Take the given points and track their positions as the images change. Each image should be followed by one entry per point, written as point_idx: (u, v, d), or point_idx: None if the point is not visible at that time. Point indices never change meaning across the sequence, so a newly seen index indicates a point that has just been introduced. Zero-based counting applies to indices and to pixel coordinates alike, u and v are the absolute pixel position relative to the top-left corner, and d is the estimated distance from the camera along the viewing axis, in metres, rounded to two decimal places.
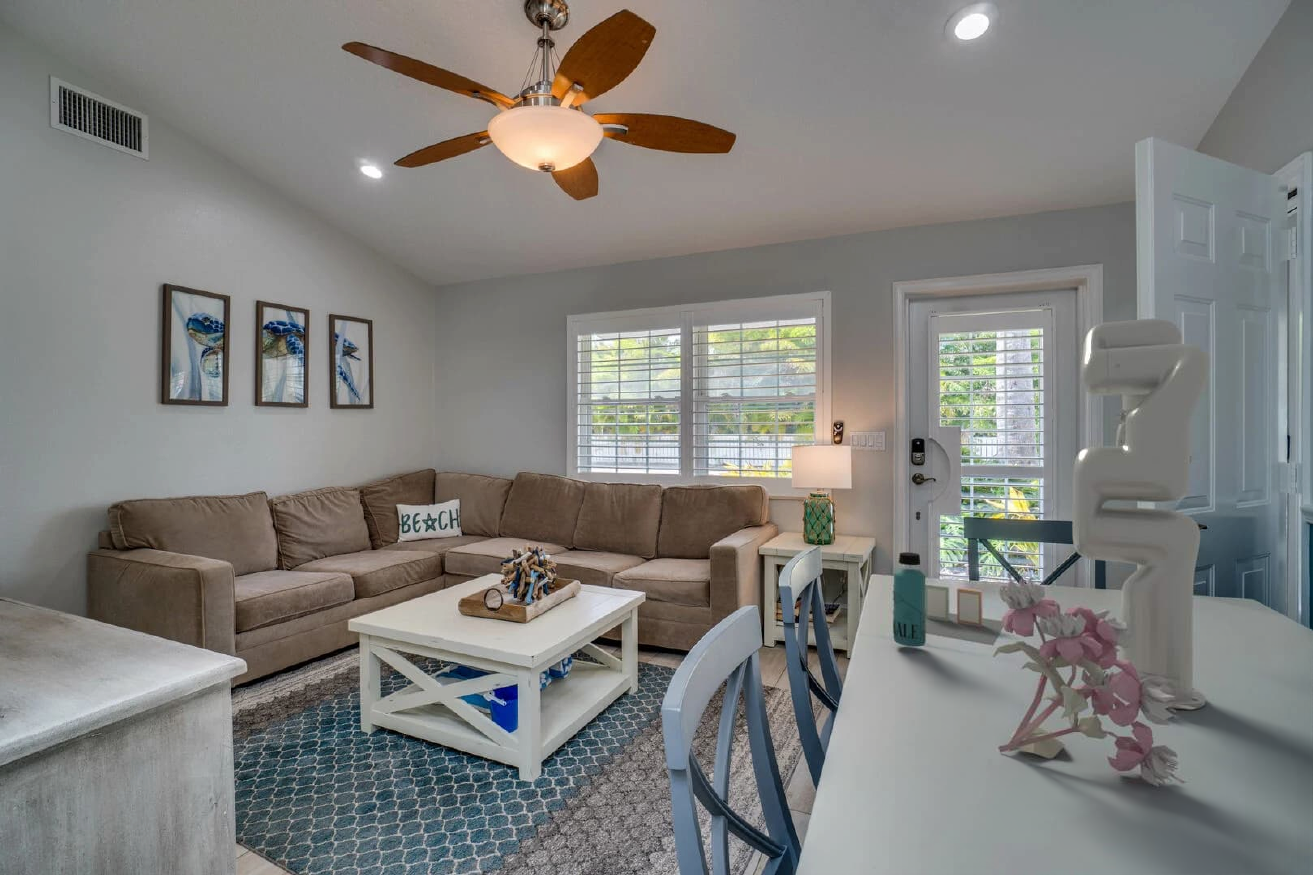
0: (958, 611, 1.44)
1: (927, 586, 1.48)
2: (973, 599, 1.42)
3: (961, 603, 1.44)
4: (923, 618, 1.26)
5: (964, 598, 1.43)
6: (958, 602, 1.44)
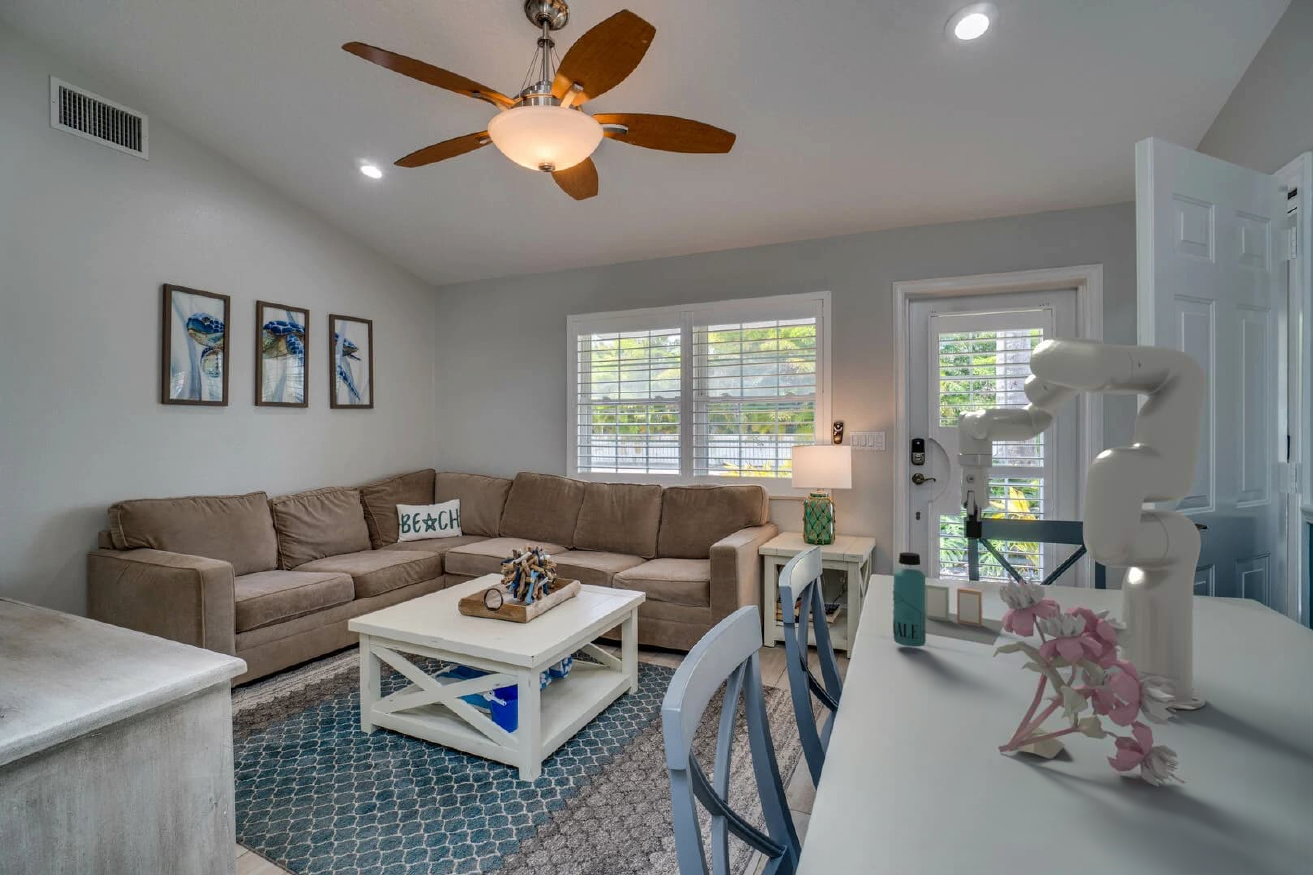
0: (958, 611, 1.44)
1: (927, 586, 1.48)
2: (973, 599, 1.42)
3: (961, 603, 1.44)
4: (923, 618, 1.26)
5: (964, 598, 1.43)
6: (958, 602, 1.44)
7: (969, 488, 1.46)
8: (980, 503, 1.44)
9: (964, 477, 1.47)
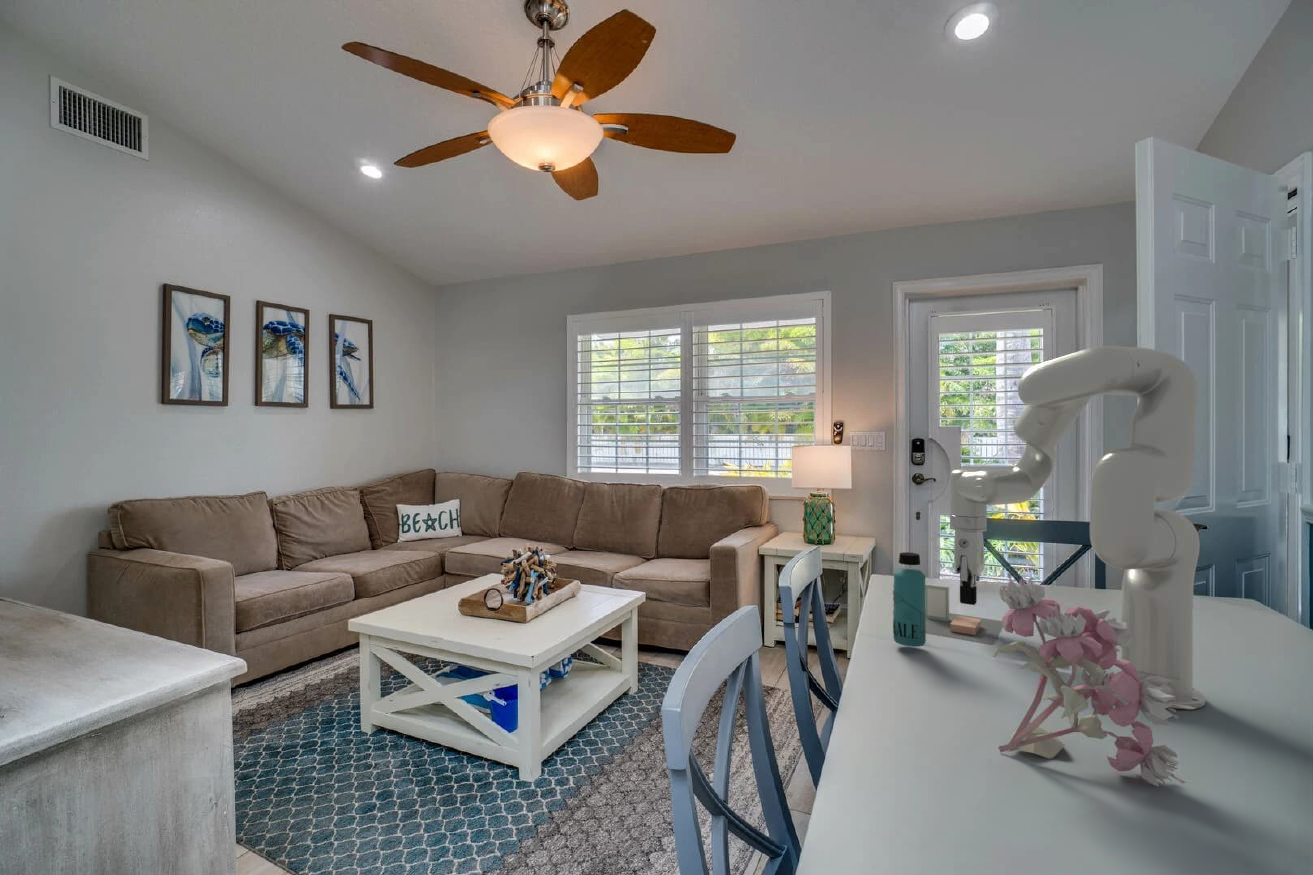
0: None
1: (927, 586, 1.48)
2: None
3: None
4: (923, 618, 1.26)
5: None
6: None
7: (962, 553, 1.38)
8: (973, 569, 1.37)
9: (957, 541, 1.39)
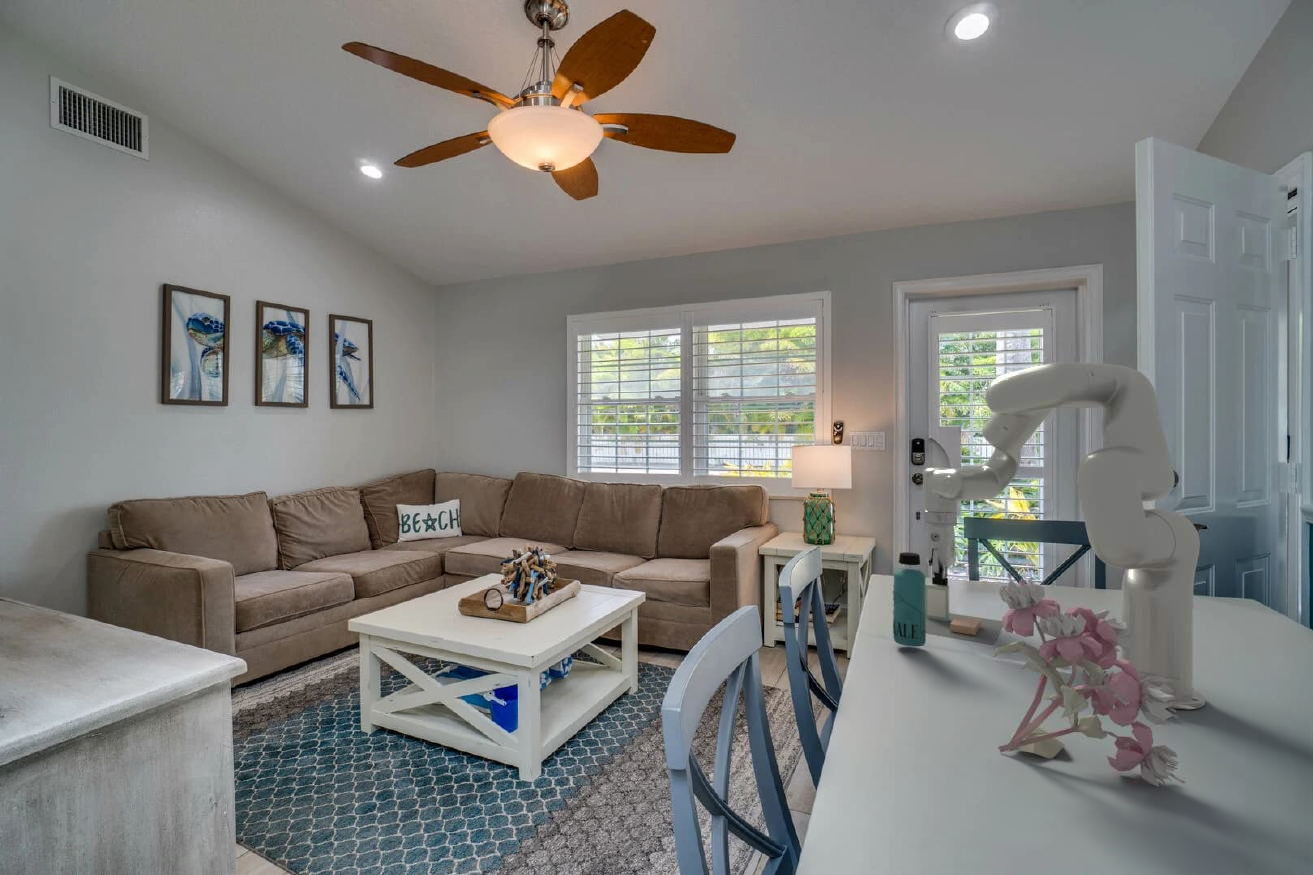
0: None
1: (927, 586, 1.48)
2: None
3: None
4: (923, 618, 1.26)
5: None
6: None
7: (933, 546, 1.46)
8: (944, 561, 1.45)
9: (929, 535, 1.47)
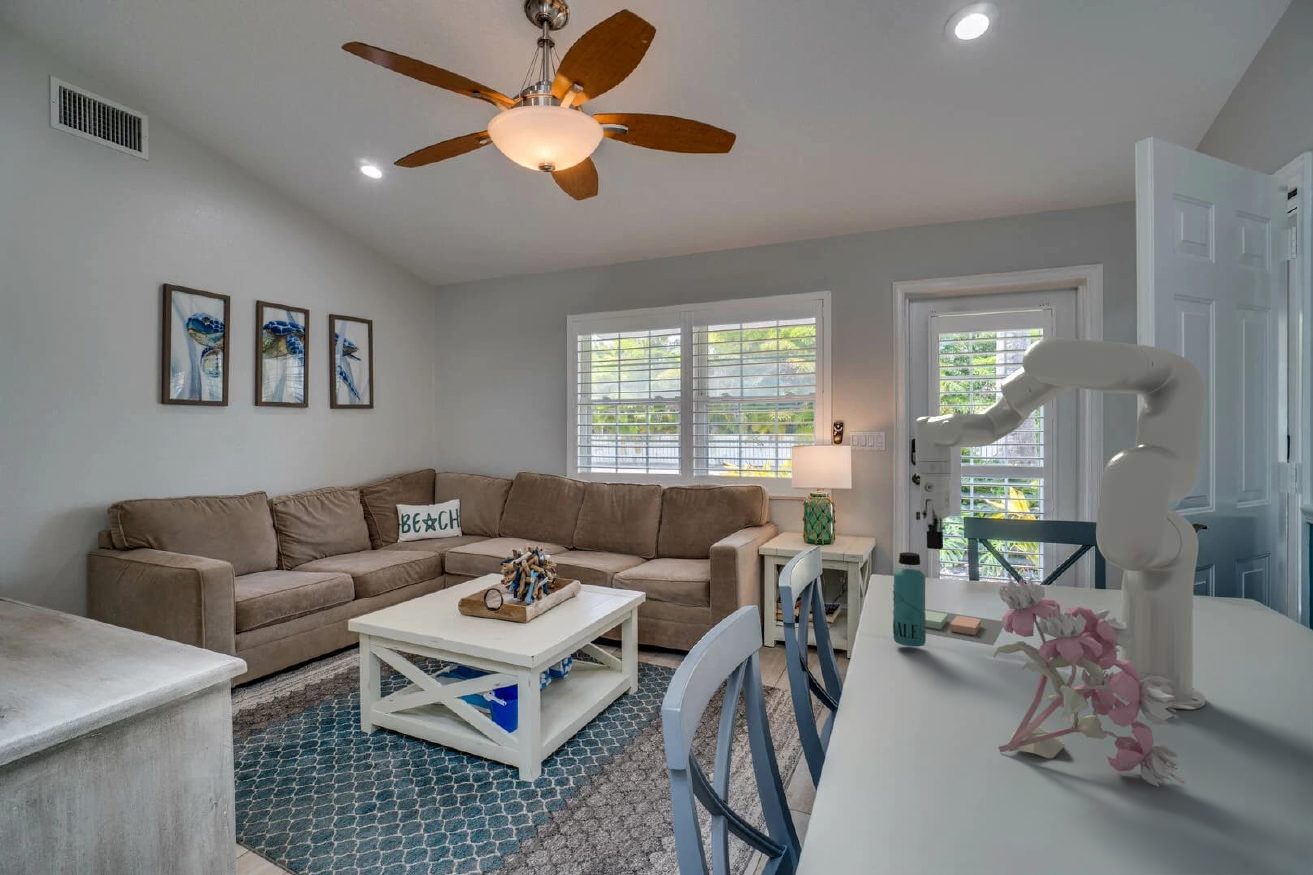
0: None
1: None
2: None
3: None
4: (923, 618, 1.26)
5: None
6: None
7: (927, 497, 1.40)
8: (938, 512, 1.39)
9: (922, 485, 1.41)
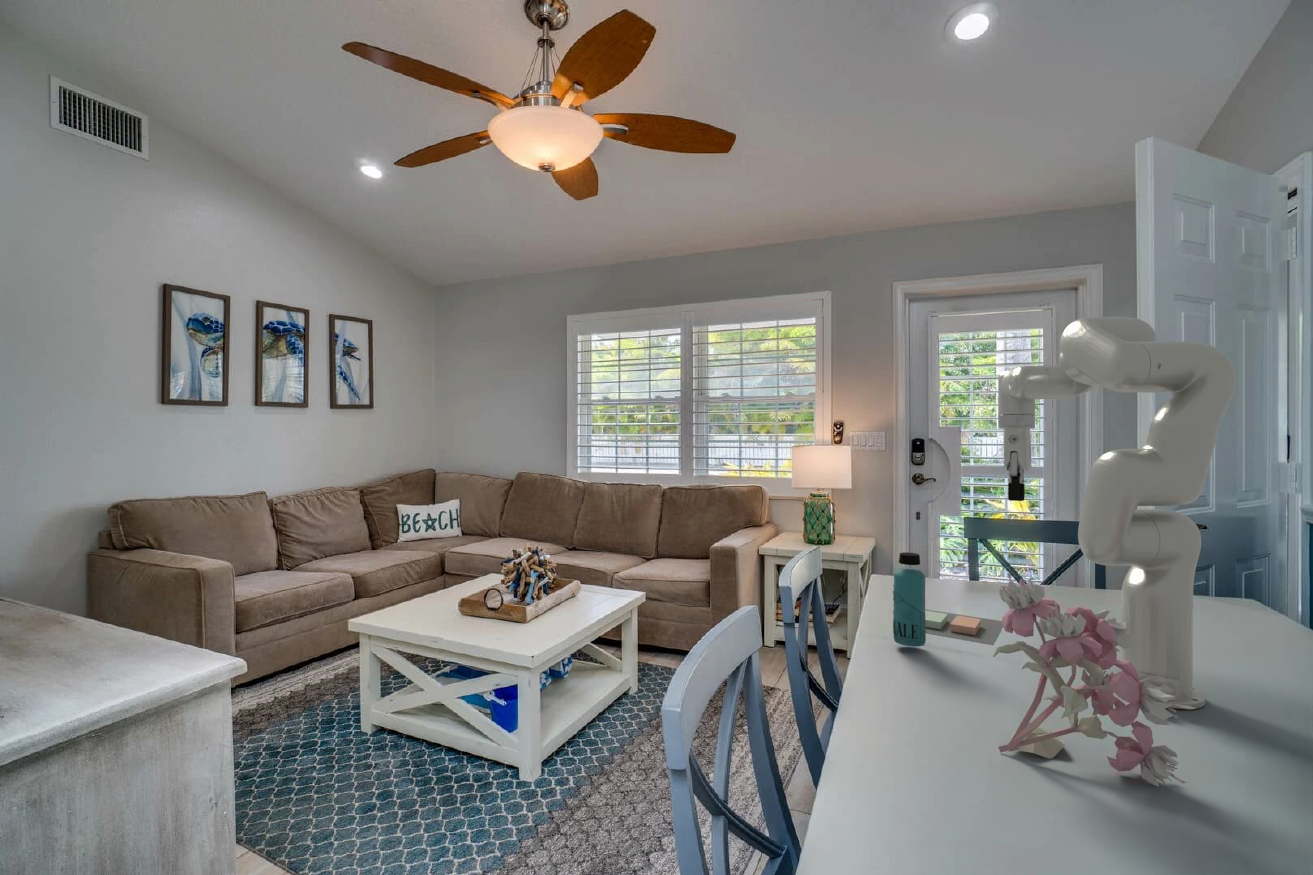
0: None
1: None
2: None
3: None
4: (923, 618, 1.26)
5: None
6: None
7: (1012, 448, 1.42)
8: (1023, 463, 1.41)
9: (1006, 438, 1.43)
